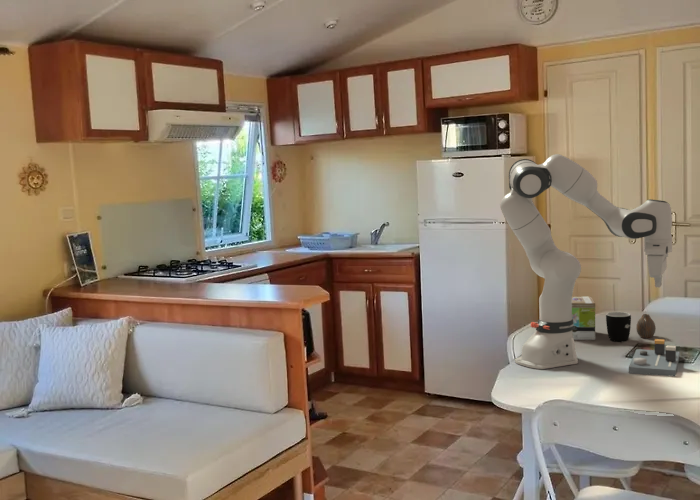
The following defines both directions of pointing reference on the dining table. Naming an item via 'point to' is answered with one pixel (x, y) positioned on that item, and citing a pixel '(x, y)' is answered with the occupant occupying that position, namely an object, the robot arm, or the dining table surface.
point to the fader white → (670, 353)
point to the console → (653, 363)
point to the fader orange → (659, 346)
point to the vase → (645, 326)
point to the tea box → (583, 318)
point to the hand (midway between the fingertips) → (658, 286)
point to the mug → (618, 326)
